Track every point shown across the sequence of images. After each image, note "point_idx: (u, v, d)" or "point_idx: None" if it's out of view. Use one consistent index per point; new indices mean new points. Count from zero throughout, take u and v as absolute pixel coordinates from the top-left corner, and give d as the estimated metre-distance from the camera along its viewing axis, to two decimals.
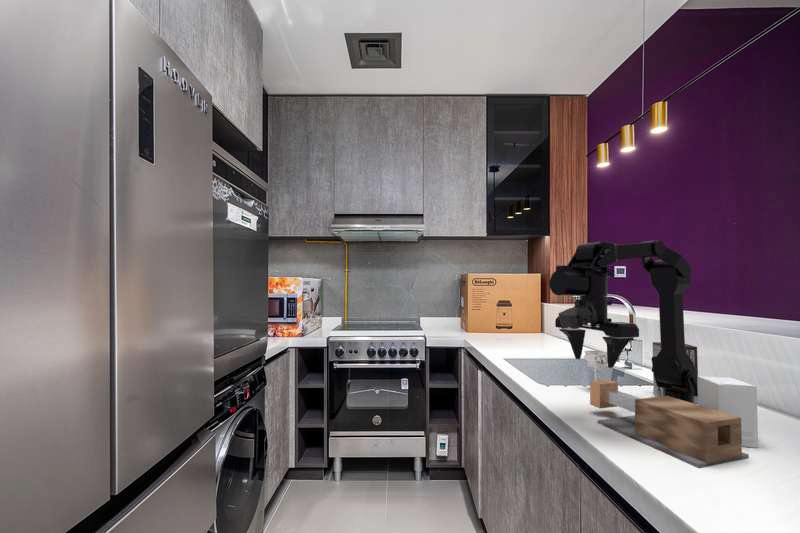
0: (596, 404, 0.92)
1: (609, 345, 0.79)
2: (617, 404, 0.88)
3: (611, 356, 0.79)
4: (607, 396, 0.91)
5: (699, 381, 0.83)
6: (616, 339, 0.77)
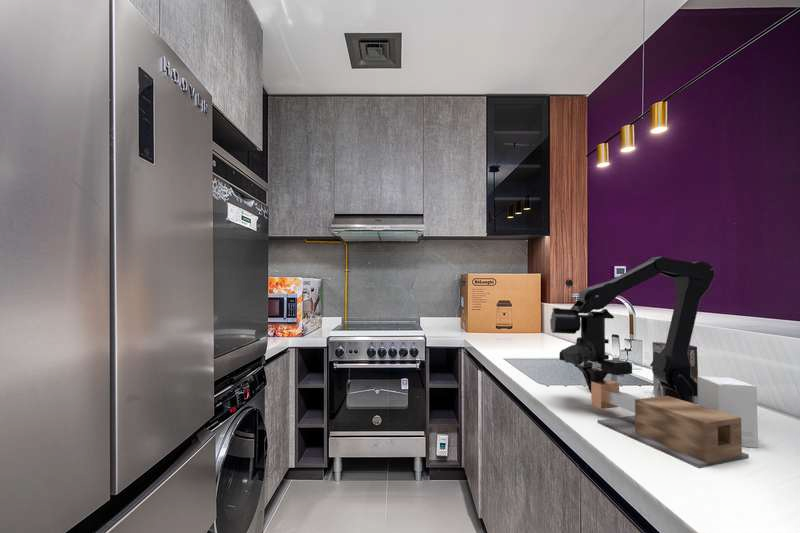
0: (597, 404, 0.91)
1: (592, 375, 0.95)
2: (619, 405, 0.88)
3: None
4: (608, 396, 0.90)
5: (699, 381, 0.83)
6: (597, 371, 0.93)
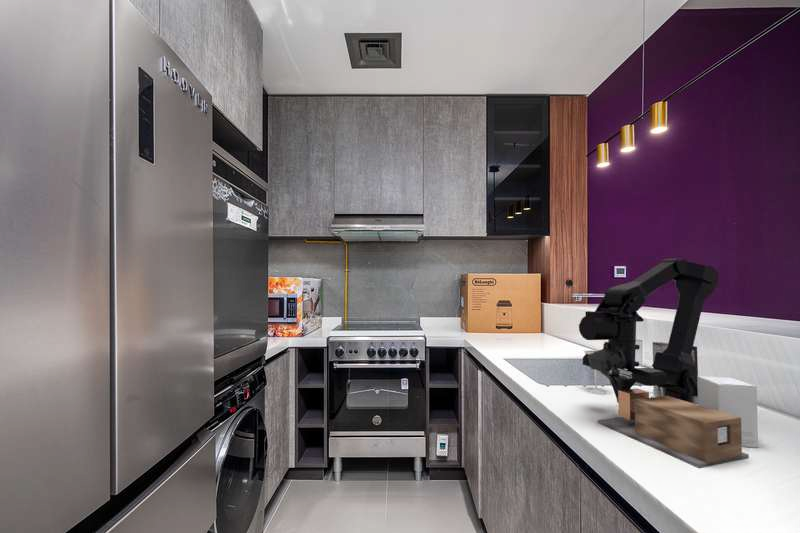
0: (626, 415, 0.84)
1: (619, 383, 0.88)
2: None
3: None
4: None
5: (699, 381, 0.83)
6: (625, 380, 0.85)
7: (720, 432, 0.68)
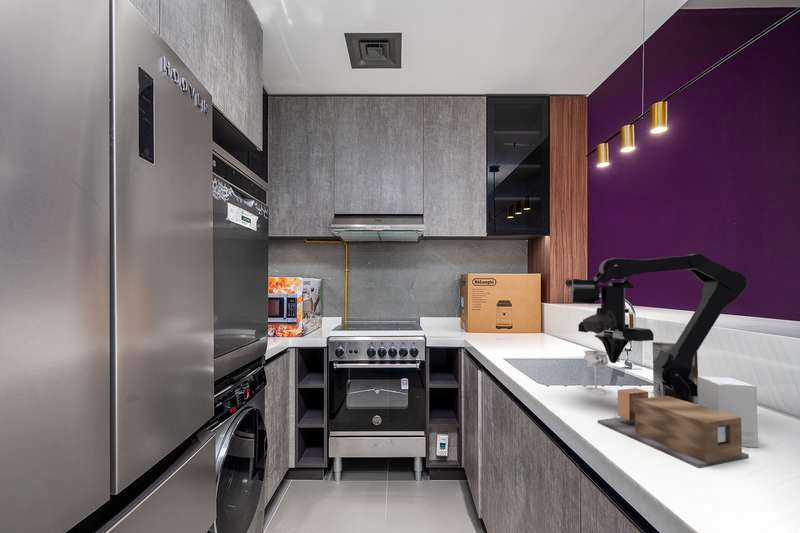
0: (625, 415, 0.84)
1: (612, 344, 0.97)
2: None
3: (614, 353, 0.97)
4: None
5: (699, 381, 0.83)
6: (618, 339, 0.94)
7: (719, 432, 0.69)
